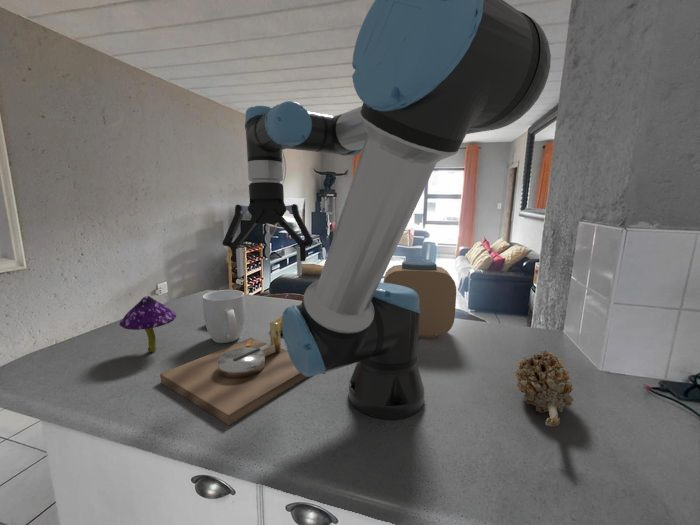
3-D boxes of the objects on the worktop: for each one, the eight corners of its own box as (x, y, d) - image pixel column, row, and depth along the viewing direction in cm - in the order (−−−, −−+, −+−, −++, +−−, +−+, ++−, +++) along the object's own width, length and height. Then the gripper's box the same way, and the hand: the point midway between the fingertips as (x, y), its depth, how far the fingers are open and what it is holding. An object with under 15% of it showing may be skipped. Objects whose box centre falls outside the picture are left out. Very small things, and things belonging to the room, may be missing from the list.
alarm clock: (448, 328, 104) (452, 261, 100) (453, 341, 94) (458, 266, 91) (382, 324, 106) (384, 258, 103) (380, 336, 97) (383, 264, 93)
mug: (255, 346, 90) (253, 299, 88) (212, 356, 84) (209, 306, 82) (240, 328, 102) (238, 287, 100) (202, 336, 96) (198, 292, 94)
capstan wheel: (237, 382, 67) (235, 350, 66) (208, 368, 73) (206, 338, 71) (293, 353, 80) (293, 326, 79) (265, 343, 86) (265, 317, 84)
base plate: (318, 370, 77) (318, 360, 77) (229, 425, 58) (228, 413, 57) (251, 344, 91) (250, 336, 90) (161, 382, 71) (160, 372, 71)
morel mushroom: (508, 380, 73) (512, 338, 72) (557, 388, 70) (563, 345, 69) (526, 449, 53) (532, 393, 51) (597, 465, 50) (606, 405, 48)
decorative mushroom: (129, 346, 89) (122, 292, 86) (180, 339, 94) (176, 287, 91) (117, 367, 78) (110, 305, 75) (177, 357, 83) (172, 300, 80)
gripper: (322, 183, 78) (324, 271, 81) (215, 184, 77) (221, 273, 80) (321, 180, 71) (323, 277, 74) (202, 181, 70) (210, 279, 73)
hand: (270, 275), depth 77 cm, fingers open, 13 cm apart
